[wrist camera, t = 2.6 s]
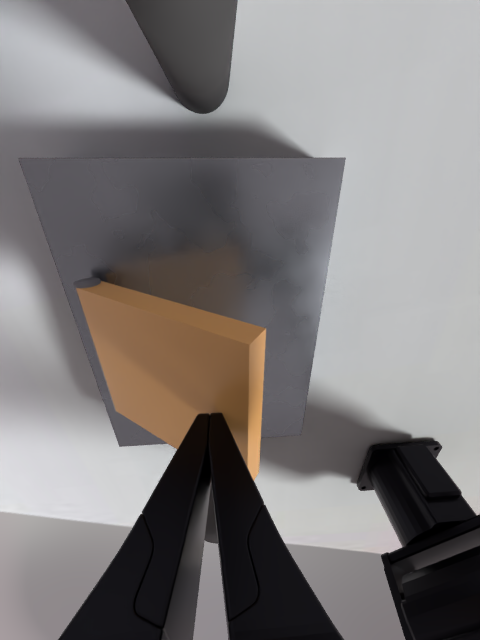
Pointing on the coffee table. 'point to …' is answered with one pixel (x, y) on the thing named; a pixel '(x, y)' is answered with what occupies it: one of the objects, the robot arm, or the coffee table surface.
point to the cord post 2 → (211, 521)
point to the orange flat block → (176, 363)
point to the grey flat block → (201, 251)
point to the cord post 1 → (191, 46)
